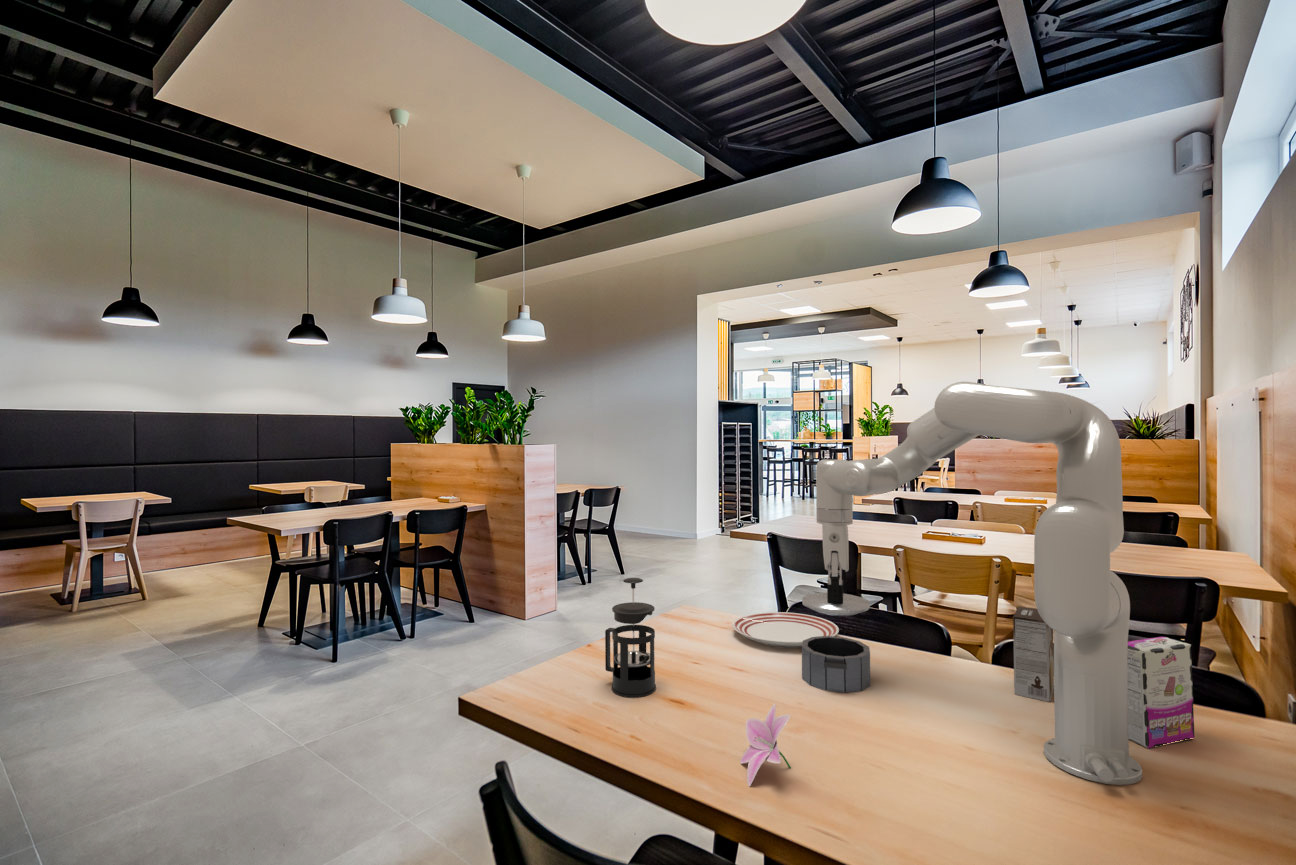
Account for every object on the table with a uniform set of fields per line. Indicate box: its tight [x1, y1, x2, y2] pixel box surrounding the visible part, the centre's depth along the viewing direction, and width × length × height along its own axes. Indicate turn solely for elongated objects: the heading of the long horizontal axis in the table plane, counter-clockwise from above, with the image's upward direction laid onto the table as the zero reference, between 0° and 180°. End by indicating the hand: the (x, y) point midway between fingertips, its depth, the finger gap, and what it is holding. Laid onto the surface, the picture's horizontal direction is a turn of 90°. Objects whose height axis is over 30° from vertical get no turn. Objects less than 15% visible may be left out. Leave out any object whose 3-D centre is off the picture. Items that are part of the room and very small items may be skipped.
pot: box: [801, 636, 871, 694], centre depth 131 cm, size 17×14×7 cm
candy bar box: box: [1127, 636, 1196, 749], centre depth 104 cm, size 11×5×16 cm, turn 105°
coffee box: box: [1012, 606, 1054, 703], centre depth 124 cm, size 9×6×16 cm
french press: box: [604, 577, 657, 699], centre depth 127 cm, size 12×9×23 cm
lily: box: [739, 702, 792, 787], centre depth 95 cm, size 12×12×10 cm
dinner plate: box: [732, 611, 840, 649], centre depth 159 cm, size 28×27×3 cm
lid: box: [801, 579, 871, 617], centre depth 131 cm, size 14×14×6 cm
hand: (835, 600), depth 131 cm, fingers closed on lid, 3 cm apart
